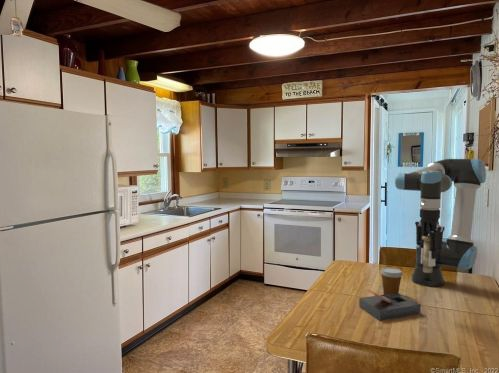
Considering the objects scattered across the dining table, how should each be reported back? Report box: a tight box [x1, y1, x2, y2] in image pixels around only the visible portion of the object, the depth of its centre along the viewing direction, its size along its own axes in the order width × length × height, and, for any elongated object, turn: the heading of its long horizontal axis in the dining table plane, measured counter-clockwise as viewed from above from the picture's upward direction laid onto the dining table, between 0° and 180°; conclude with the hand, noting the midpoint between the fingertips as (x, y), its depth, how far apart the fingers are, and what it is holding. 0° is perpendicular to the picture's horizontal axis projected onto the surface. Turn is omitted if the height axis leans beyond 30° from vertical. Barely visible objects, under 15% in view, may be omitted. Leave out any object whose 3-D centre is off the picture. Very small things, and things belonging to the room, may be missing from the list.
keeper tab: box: [366, 288, 393, 304], centre depth 156 cm, size 10×6×1 cm, turn 109°
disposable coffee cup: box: [380, 266, 403, 295], centre depth 174 cm, size 10×10×12 cm
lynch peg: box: [422, 234, 433, 273], centre depth 154 cm, size 5×5×15 cm
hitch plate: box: [358, 292, 422, 321], centre depth 158 cm, size 20×14×4 cm
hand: (427, 264), depth 154 cm, fingers closed on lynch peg, 3 cm apart
